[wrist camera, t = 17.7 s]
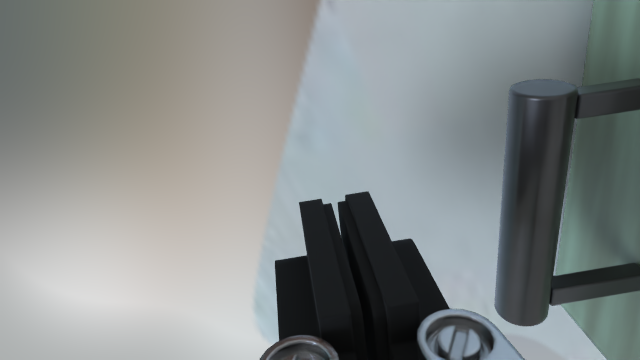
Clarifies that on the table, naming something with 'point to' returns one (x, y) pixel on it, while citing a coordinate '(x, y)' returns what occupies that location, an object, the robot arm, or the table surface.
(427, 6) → the table surface
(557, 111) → the drawer
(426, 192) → the table surface
